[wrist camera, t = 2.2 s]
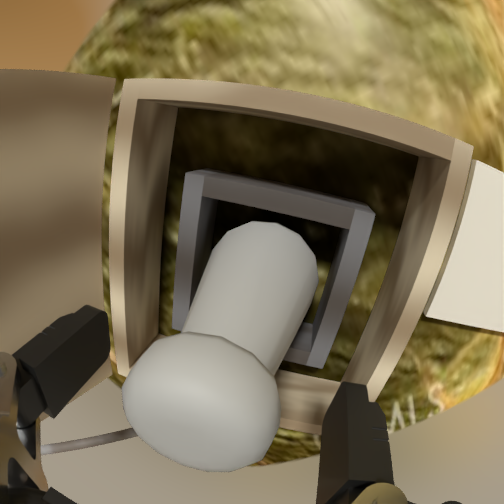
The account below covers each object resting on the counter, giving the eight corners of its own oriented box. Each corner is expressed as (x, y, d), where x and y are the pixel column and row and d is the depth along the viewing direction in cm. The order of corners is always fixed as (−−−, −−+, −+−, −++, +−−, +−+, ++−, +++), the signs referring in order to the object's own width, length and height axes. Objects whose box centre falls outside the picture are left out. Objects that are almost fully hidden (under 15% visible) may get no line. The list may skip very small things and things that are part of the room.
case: (135, 90, 16) (-69, 72, 4) (437, 145, 14) (647, 175, 1) (123, 340, 23) (20, 454, 10) (342, 402, 21) (334, 570, 8)
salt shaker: (337, 273, 18) (348, 477, 6) (261, 318, 20) (191, 500, 8) (278, 191, 17) (177, 307, 5) (204, 246, 19) (57, 387, 7)
